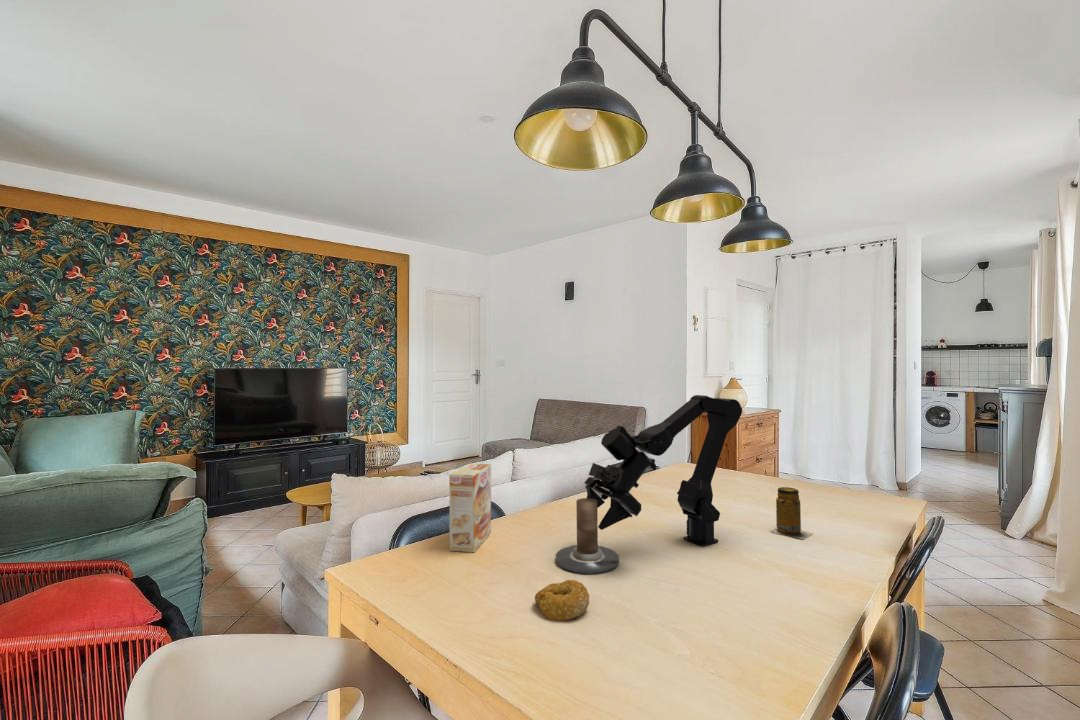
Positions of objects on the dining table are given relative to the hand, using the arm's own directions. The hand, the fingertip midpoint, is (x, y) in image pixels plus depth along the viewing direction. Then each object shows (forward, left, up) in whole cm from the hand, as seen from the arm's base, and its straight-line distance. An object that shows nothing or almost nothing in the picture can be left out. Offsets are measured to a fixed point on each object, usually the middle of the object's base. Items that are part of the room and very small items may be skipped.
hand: (590, 522), depth 117 cm
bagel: (-16, +19, -9) cm, 26 cm away
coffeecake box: (+27, +19, -9) cm, 35 cm away
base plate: (0, +1, -9) cm, 9 cm away
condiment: (-14, -59, -9) cm, 61 cm away
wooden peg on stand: (0, +1, -8) cm, 8 cm away
